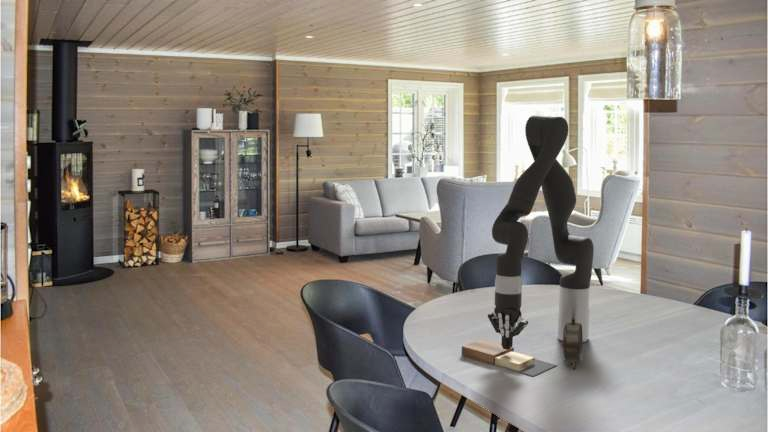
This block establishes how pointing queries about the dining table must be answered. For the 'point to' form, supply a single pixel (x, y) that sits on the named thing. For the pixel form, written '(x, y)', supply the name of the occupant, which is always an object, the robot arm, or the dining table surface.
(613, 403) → the dining table surface
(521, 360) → the coaster
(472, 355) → the board
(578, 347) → the alarm clock
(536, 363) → the mat
